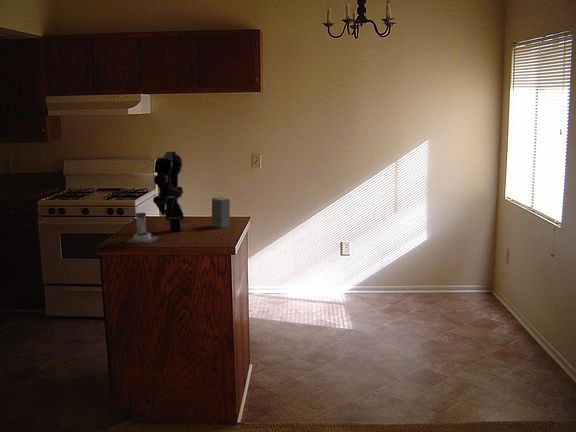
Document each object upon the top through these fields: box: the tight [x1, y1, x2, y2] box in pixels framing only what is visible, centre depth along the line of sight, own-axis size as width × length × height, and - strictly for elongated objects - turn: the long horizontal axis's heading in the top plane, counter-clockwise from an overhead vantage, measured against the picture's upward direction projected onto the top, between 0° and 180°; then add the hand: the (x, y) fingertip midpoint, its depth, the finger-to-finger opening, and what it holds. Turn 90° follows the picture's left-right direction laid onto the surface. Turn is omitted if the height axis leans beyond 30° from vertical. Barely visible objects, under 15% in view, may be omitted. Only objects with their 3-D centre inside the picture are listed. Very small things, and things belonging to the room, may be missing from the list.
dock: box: [126, 232, 159, 244], centre depth 320 cm, size 11×12×3 cm
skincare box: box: [211, 196, 231, 229], centre depth 345 cm, size 8×7×16 cm
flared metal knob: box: [135, 212, 148, 236], centre depth 319 cm, size 5×5×13 cm
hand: (167, 213), depth 320 cm, fingers open, 9 cm apart
